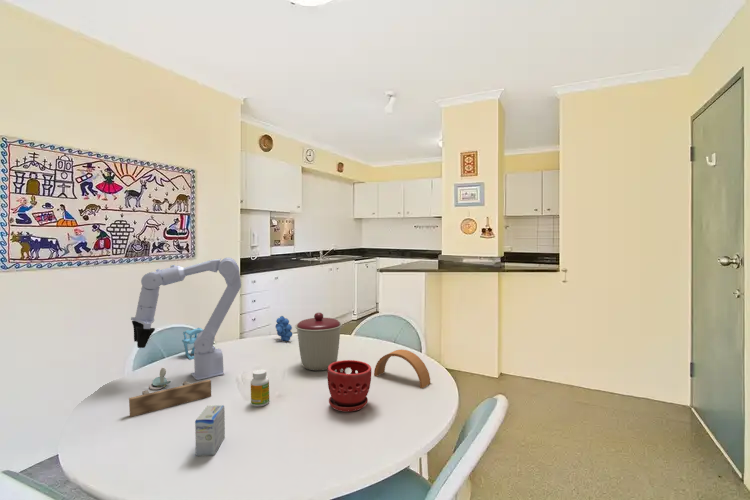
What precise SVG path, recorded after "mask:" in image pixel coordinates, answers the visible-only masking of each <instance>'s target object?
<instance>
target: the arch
mask: <svg viewBox="0 0 750 500" xmlns="http://www.w3.org/2000/svg"><path fill="white" fill-rule="evenodd" d="M391 357H398V358H401V359H402V360H405V361H406V362H407V363H408V364H409V365H410V366H411V367H412V368H413V370H414V371H415V373H416V375H417V377H418V382H419V388H420V389H424V388H425V387H427V386H429V385H430V384H431V377H430V373H429V369H428V368H427V366H426V364H425V363H424V361H423V360H422V359H421V357H419V356H418V355H417V354H415V353H414V352H412V351H410V350H407V349H397V350H394V351H391V352H389V353H387V354H385V355H383V356H382V357H380V358H379V360H378V361H376V364H375V367H374V372H373V377H379V376H380V375H382V374H384V373H385V370H386V366H387V363H388V361H389V359H390V358H391Z"/></svg>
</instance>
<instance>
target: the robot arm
mask: <svg viewBox="0 0 750 500" xmlns="http://www.w3.org/2000/svg"><path fill="white" fill-rule="evenodd" d="M237 263H238V262H237V261H236V260H235V259H234V258H232V257H224V258H223V259H222V258H216V259H211V260H205V261H202V262H200V263H195V264H192V265H188V266H185V267H183V266H181V265H176V264H171V265H170V267H166V268H163V269H160V268H158V269H157V268H156V269H155V271H150V272H148V273H145V274H144V275H142V278H141V280H140V283H141V288H140V289H141V290H140V292H139V296H138V301H137V308H136V312H135V316H134V317H133V316H131V317H130V320H131V323H132V327H133V341H134V343H135V342H136V343H137V344H136V345H137V346H136V347H137V348H139V349H145V348H146V345H148V341H149V340H150V337H151V335H153V333H154V332H155V330H156V328H155V327H152V324H153V323H154V322H155V316H156V310H157V306H158V305H157V304H158V300H159V295H160V294H159V292H160V287H161V286H167V285H172V284H175V283H179V282H183V281H184V279H185V278H186V277H187V276H191V275H197V274H199V273H205V272H208V271H209V272H212V273H218V272H219V274H220V275H221V276H222V277H223V278H224V281H225V284H226V288H225V290H224V291H223V293H222V295H221V296H220V298H219V301H218V302H217V304H216V306H215V308H214V309H213V312H212V313H211V316H210V317H209V319H208V321H207V323H206V324H205V326H204V328H203V331H201V332H200V333H197V338H196V340H195V342H194V343H193V347H194V348H195V350H194V354H193V356H194V359H193V360H194V361H193V362H194V372H191V373H190V375H191V376H192V377H193V378H194V379H195V380H196V381H200V380H201V381H202V380H204V379H205V380H206V379H210V378H213V377H218V376H222V375H225V373H224V355H223V351H222V349H221V348H216V346H214V342H215V339H216V338H215V337H216V336H217V333H218V331H219V329H220V327H221V325H222V323H223V321H224V320H225V318H226V316H227V314H228V311H229V310H230V308H231V306H232V304H233V302H234V301H235V299H236V297H237V295H238V293H239V291H240V289H241V287H242V279H241V275H240V274H241V273H240V267H239V265H238V264H237Z"/></svg>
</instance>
